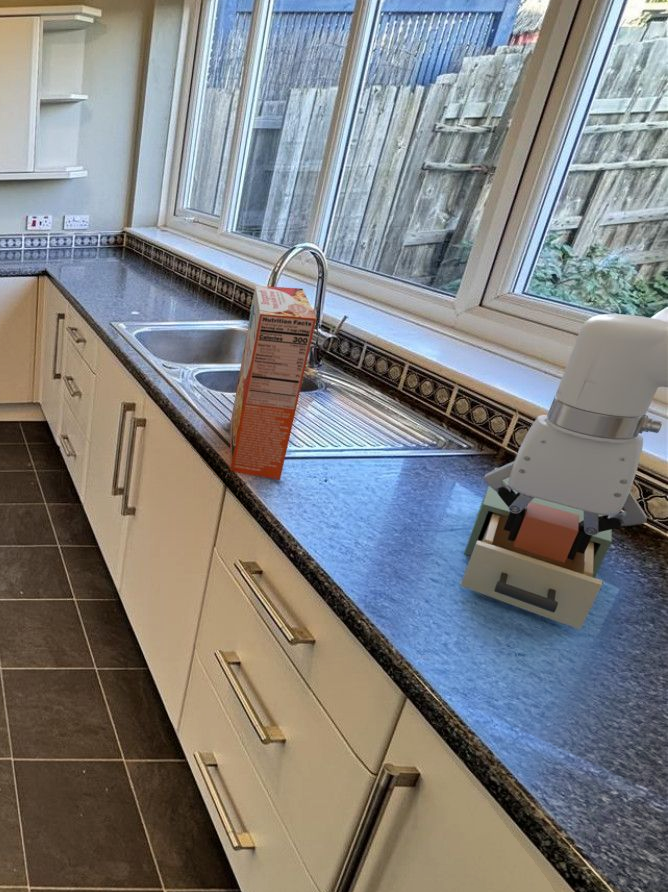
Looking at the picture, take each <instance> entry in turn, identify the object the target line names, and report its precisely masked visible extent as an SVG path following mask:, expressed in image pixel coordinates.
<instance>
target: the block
mask: <svg viewBox="0 0 668 892" xmlns="http://www.w3.org/2000/svg"><path fill="white" fill-rule="evenodd" d="M578 530H579V515H577V514H573V513H569V512H566V511H562V510H558V509H555V508H551V507H547V506H544V505H540V504H536V503H533V502H530V503H529V504H528V505H527V506H526V511H525V516H524V519H523V522H522V524H521V527H520V529H519V532H518V534H517V537H516V539H515V541H514V545H513V547H515V548H519V549H522V550H525V551H528V552H531V553H535V554H538V555H541V556H544V557H547V558H550V559H554V560H557V561H560V562H563V563H565V561H566V558H567V556H568V554H569V552H570V549H571V547H572V545H573V543H574V540H575V538H576V536H577V533H578Z"/></svg>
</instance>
